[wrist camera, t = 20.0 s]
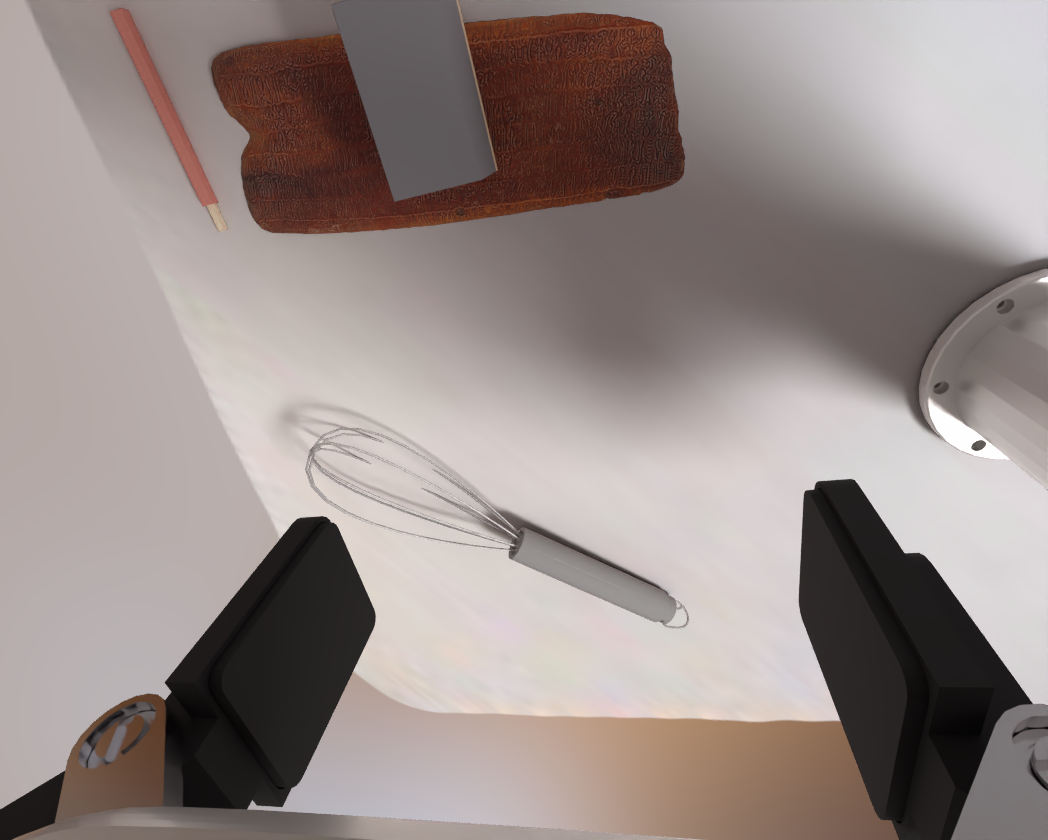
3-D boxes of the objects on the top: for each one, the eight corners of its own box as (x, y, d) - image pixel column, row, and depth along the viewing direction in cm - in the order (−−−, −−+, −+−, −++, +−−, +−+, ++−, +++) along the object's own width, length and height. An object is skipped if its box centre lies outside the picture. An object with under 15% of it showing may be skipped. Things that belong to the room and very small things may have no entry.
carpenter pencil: (129, 10, 29) (120, 8, 29) (231, 228, 35) (224, 230, 34) (119, 14, 29) (109, 12, 29) (221, 230, 35) (215, 232, 34)
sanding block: (457, -3, 27) (430, -29, 22) (497, 170, 30) (481, 179, 26) (374, 24, 28) (331, 5, 23) (423, 188, 31) (394, 201, 27)
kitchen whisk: (665, 627, 49) (675, 692, 43) (318, 453, 43) (278, 502, 38) (709, 587, 46) (726, 651, 40) (343, 395, 40) (305, 439, 35)
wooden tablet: (265, 236, 35) (252, 241, 34) (210, 52, 31) (192, 49, 29) (683, 208, 32) (688, 212, 30) (696, -4, 27) (702, -10, 26)
